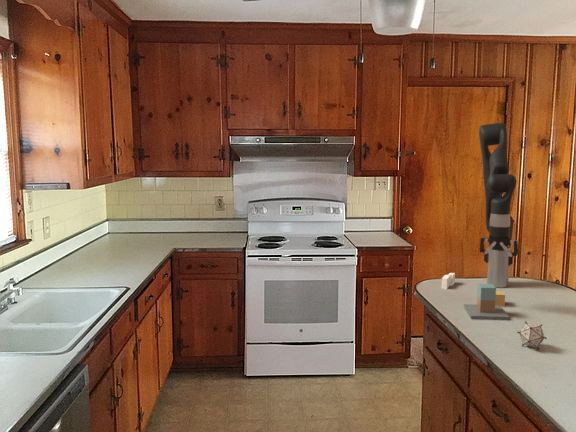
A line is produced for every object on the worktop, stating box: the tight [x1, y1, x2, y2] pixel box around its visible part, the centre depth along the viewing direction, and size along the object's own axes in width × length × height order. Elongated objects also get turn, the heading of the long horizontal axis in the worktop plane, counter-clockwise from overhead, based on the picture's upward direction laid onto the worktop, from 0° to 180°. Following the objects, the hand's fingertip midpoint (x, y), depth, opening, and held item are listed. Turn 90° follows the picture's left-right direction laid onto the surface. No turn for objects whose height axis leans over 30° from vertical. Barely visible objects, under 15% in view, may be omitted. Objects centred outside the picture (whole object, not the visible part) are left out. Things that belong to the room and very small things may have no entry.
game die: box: [516, 320, 548, 351], centre depth 175 cm, size 9×8×10 cm
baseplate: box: [463, 296, 510, 321], centre depth 207 cm, size 14×14×6 cm
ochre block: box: [495, 290, 506, 307], centre depth 218 cm, size 6×6×5 cm
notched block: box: [441, 272, 456, 290], centre depth 245 cm, size 15×11×6 cm
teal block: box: [476, 283, 497, 301], centre depth 207 cm, size 6×6×5 cm
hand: (498, 264), depth 212 cm, fingers open, 8 cm apart
